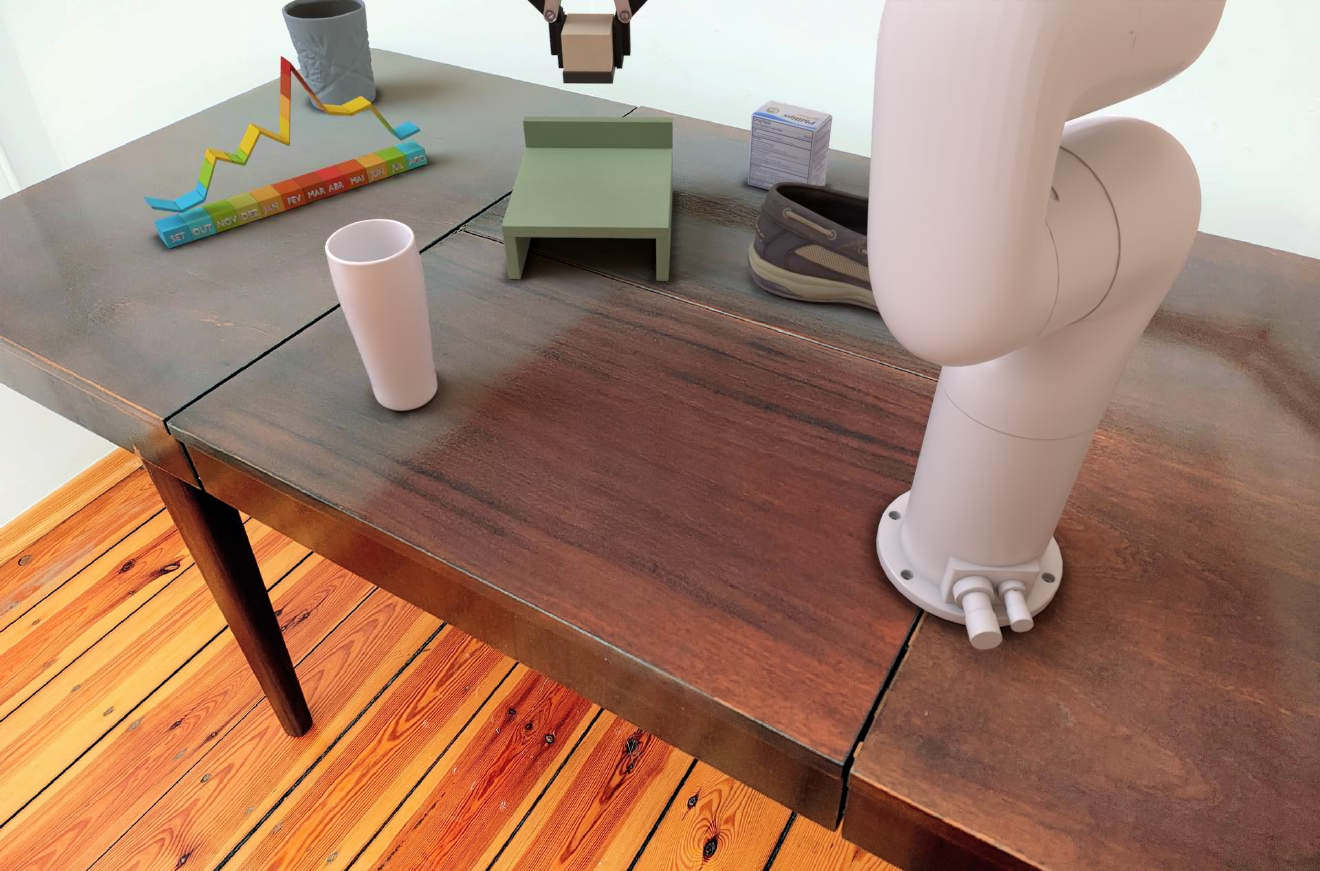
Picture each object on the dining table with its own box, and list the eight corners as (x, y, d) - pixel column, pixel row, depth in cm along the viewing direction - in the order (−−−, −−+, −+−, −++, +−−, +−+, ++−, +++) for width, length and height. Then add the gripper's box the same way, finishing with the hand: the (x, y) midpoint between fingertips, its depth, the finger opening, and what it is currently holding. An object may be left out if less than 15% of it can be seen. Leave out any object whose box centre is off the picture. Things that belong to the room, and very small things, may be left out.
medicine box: (825, 187, 107) (834, 113, 101) (808, 203, 104) (816, 129, 98) (764, 170, 110) (769, 98, 104) (746, 185, 107) (750, 112, 101)
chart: (169, 249, 98) (112, 110, 88) (160, 237, 100) (102, 99, 89) (428, 164, 112) (404, 36, 102) (415, 155, 114) (390, 28, 103)
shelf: (668, 281, 93) (668, 199, 87) (508, 279, 93) (497, 197, 87) (672, 193, 106) (672, 117, 100) (532, 192, 106) (524, 116, 100)
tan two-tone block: (612, 84, 82) (611, 35, 79) (563, 83, 82) (559, 34, 80) (618, 50, 88) (617, 3, 85) (572, 50, 88) (569, 3, 85)
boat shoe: (1057, 345, 84) (1093, 241, 77) (737, 310, 89) (742, 208, 82) (1045, 280, 92) (1077, 180, 85) (751, 251, 97) (758, 153, 90)
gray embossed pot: (293, 111, 123) (267, 16, 115) (326, 81, 131) (303, -10, 123) (366, 116, 122) (344, 21, 114) (394, 85, 129) (376, -6, 121)
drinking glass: (409, 430, 77) (369, 274, 66) (350, 402, 79) (303, 248, 69) (463, 385, 81) (434, 232, 71) (405, 360, 83) (369, 209, 73)
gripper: (462, -163, 70) (493, 78, 83) (686, -163, 70) (683, 80, 82) (479, -182, 76) (506, 47, 88) (687, -182, 75) (684, 48, 88)
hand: (591, 61), depth 85 cm, fingers closed on tan two-tone block, 4 cm apart
